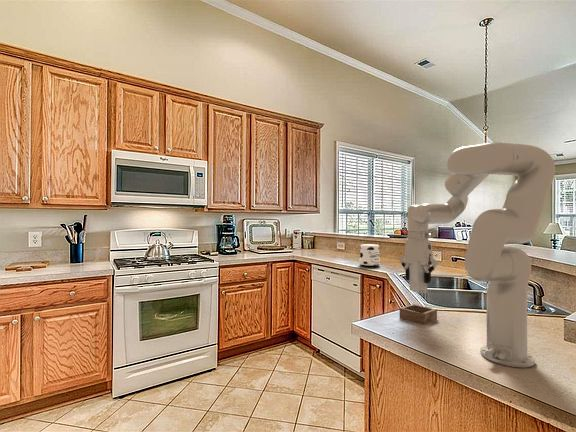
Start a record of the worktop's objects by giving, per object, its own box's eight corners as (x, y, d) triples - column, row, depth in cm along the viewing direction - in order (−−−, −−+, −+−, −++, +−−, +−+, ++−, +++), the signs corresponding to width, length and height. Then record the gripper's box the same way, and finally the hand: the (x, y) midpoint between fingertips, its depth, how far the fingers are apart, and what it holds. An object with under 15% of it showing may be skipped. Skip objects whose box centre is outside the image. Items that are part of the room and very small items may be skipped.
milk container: (378, 268, 253) (378, 246, 253) (357, 267, 260) (357, 245, 260) (381, 265, 269) (381, 244, 269) (361, 264, 276) (361, 243, 276)
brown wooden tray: (423, 325, 117) (423, 314, 117) (399, 318, 125) (399, 308, 125) (436, 319, 123) (436, 309, 123) (413, 313, 131) (413, 304, 131)
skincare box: (427, 293, 122) (427, 261, 122) (417, 293, 121) (417, 262, 121) (418, 289, 128) (418, 259, 128) (408, 290, 127) (408, 260, 127)
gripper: (444, 237, 120) (444, 283, 120) (403, 234, 134) (403, 276, 133) (434, 237, 115) (434, 286, 115) (393, 235, 129) (392, 278, 129)
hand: (417, 280), depth 124 cm, fingers closed on skincare box, 7 cm apart
